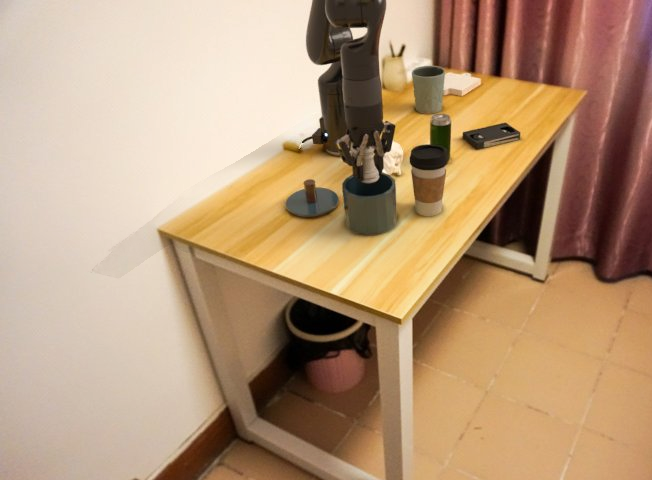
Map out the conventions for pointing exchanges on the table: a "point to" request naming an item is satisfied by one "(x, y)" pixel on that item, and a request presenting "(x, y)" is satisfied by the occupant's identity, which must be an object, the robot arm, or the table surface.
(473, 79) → the mounting plate
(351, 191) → the canister
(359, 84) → the robot arm
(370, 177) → the rook chess piece
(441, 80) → the grey green tumbler
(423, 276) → the table surface
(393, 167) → the white figurine
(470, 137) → the vhs tape
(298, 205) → the lid
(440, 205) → the coffee cup
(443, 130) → the beer can
